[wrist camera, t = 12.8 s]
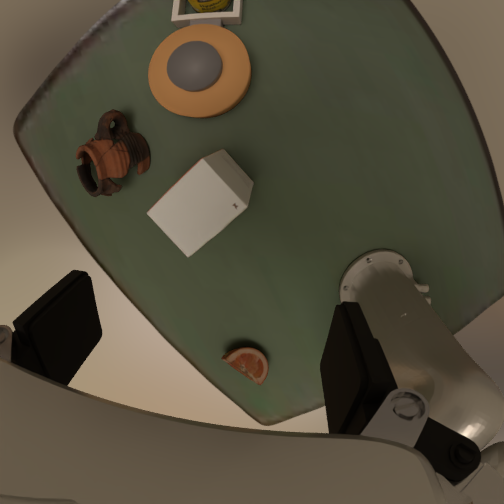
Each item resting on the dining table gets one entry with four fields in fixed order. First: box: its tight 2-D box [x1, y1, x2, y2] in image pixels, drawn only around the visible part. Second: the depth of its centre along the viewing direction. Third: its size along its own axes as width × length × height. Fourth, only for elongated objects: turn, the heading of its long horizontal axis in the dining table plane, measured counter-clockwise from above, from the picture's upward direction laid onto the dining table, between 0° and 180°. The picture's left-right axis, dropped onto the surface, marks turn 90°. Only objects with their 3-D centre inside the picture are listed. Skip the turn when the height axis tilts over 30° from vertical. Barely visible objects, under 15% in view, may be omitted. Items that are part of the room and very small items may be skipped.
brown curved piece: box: [76, 109, 150, 197], centre depth 35 cm, size 12×10×8 cm
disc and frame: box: [148, 0, 251, 118], centre depth 28 cm, size 12×22×7 cm, turn 178°
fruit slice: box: [222, 347, 269, 385], centre depth 48 cm, size 8×7×5 cm
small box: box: [147, 149, 254, 257], centre depth 33 cm, size 8×6×13 cm
